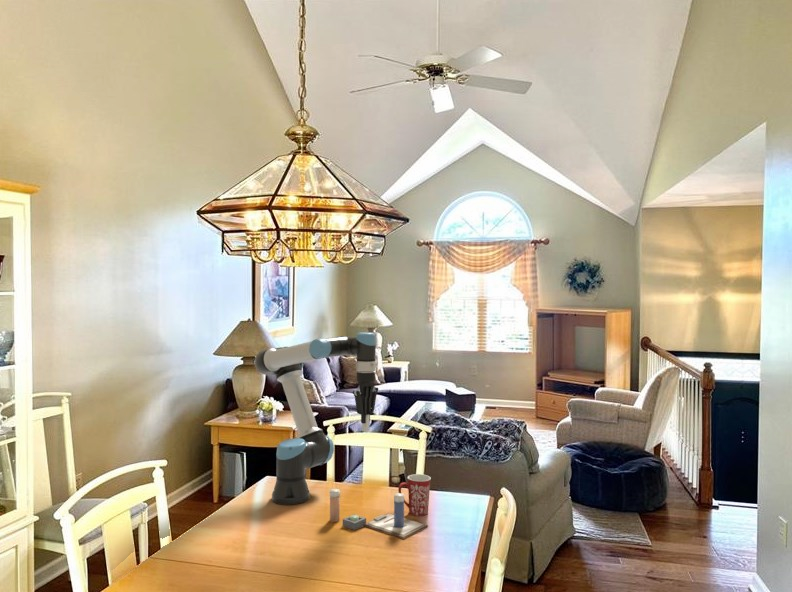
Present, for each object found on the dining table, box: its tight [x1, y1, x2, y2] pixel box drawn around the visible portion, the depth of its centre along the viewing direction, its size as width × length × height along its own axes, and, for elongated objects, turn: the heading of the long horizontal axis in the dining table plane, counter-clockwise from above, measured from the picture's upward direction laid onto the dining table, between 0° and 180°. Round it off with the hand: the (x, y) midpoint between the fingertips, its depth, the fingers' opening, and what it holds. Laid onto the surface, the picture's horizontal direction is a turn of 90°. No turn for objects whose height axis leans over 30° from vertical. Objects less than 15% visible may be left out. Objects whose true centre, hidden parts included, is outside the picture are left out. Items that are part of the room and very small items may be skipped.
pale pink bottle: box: [329, 488, 341, 523], centre depth 217 cm, size 4×4×11 cm
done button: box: [350, 514, 360, 522], centre depth 213 cm, size 3×3×2 cm
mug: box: [397, 473, 432, 517], centre depth 226 cm, size 13×9×14 cm
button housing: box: [342, 514, 367, 531], centre depth 213 cm, size 6×6×2 cm
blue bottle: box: [393, 492, 405, 528], centre depth 210 cm, size 4×4×11 cm
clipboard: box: [363, 512, 429, 540], centre depth 212 cm, size 18×14×2 cm
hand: (365, 431), depth 233 cm, fingers closed
